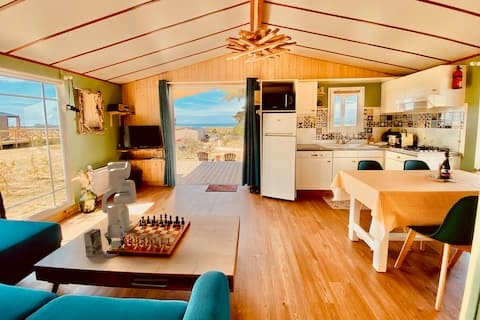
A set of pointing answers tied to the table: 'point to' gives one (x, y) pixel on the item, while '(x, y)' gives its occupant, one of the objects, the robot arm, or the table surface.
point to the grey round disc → (110, 255)
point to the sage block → (115, 243)
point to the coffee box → (93, 242)
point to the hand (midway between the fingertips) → (116, 244)
